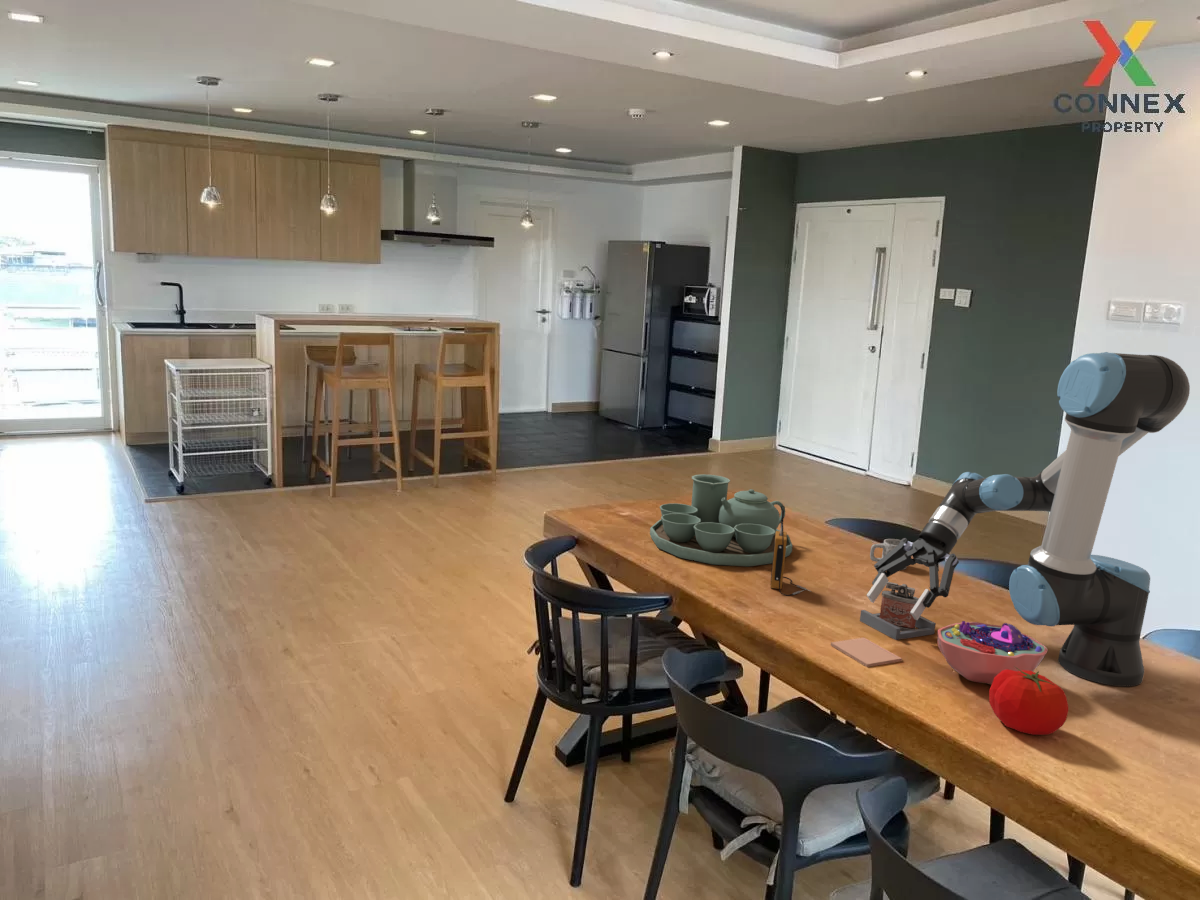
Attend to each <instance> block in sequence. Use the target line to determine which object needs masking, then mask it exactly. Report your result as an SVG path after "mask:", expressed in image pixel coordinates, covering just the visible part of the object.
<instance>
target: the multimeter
mask: <svg viewBox="0 0 1200 900" xmlns="http://www.w3.org/2000/svg"><path fill="white" fill-rule="evenodd" d="M783 507H784V510H785V511H786V507H785V505H783ZM781 510H782V518H781V523H780V531H776V534H775V543H774V552H773V562H772V563H771V565H772V566H771V575H770V588H771V589H776V590H779V594H781V595H783V596H787V597H790V596H793V595H797V594H801V592H803V591H809V592H812V591H811V590H810V589H808V588H806V587H804V586H801V585H798V584H794V583H792V582H793V580H792V579H791V578H790V577H787V576H784V571H785V561H786V557H785V553H786V543H787V535H788V532H787V531H784V519H785V517H784V510H783V509H782V506H781V508H780V511H781ZM784 578H785V579H788V580H789V581H790V582H789V584H790V585H792V586H796V588H800V589H802V590H798V591H795V592H793V593H790V594H786V593H782V591H781V590H782V589H783V583H784V582H783V581H784Z"/></svg>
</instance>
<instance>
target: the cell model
mask: <svg viewBox="0 0 1200 900" xmlns="http://www.w3.org/2000/svg"><path fill="white" fill-rule="evenodd" d="M937 646H938V649H939V651H940V653H941V654H942V656H943V657H944V659H945V661H946V663H947V664H948V666H949V667H950V668H951V669H953V670H954V671H955V672H956V673H958V674H959V675H961V676H962V677H963V678H965V679H966V680H967V681H971V682H974V683H978V684H979V683H981V684H988V685H992V682H993V680H994V677H995V676H997V675H998V674H999V673H1000V672H1001V671H1002V670H1006V669H1008V670H1013V671H1019V670H1027V671H1032V672H1034V671H1035V670H1036V669H1037V667H1039V665H1040V664H1041V662H1042V661H1043V659H1044V658H1045V656H1046V654H1047V653H1048V648H1047V646H1045V645H1044V644H1043V643H1041V641H1038V640H1037V639H1036V638H1034V637H1032V636H1030V635H1028V634H1026V633H1023V632H1021V630H1019V628H1017V626H1015V625H1013V624H1011V623H1007V622H1005V623H1002V625H997V624H988V623H982V622H979V621H965V620H962V621H961V622H956V623H951V624H948V625H946V626H943V627H940V628H938V629H937ZM1014 666H1015V667H1014ZM1017 668H1018V669H1019V670H1018V669H1017Z"/></svg>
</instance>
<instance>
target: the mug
mask: <svg viewBox="0 0 1200 900" xmlns="http://www.w3.org/2000/svg"><path fill="white" fill-rule="evenodd" d="M901 540H902V539H897V538H896V539H895V538H886V539H884V540H883V542H882V543H875V544H872V545H871V547H870V553H869V557H870V560H871V561H873V562H875V563H877V562H878V561H879V560H881V559H882V558H883V557H884V556H885V555H887V554H888V553H889V552H890V551H892V550H893V549H894V548H895V547H896V546H898V544H899V543H900V541H901ZM877 548H879V549H882V555H881V557H875V550H876V549H877ZM907 552H908V551H907ZM904 555H905V554H904ZM904 555H903V556H904ZM907 567H908V566H907ZM907 567H905V568H904V569H902V571H903V570H906V569H907Z"/></svg>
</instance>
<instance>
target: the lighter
mask: <svg viewBox="0 0 1200 900" xmlns="http://www.w3.org/2000/svg"><path fill="white" fill-rule="evenodd" d="M885 588H886V589H889V590H882V591H881V602H880V603H881V605H880V612H879V613H880V618H881V619H883V620H885V621H887V622H889V623H891V624H893V625H895V626H897V627H899V628H901V629H900V632H902V631H909V630H915V629H917V627H915V623H916V620H915V619H914V618H913V616H912V615H911V613H910V612H911V610H912V609H913V607H914V606H915V604H916V603H917V601H918V600H919V598H920V597H917V596H914V595H915V593H916V588H915V587H911V586H908V585H907V584H905V583H903V584H899V583H895V582H891V581H888V582H887V583H886V585H885Z"/></svg>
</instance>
